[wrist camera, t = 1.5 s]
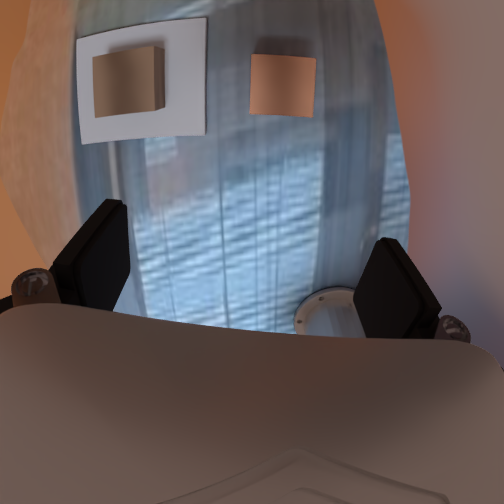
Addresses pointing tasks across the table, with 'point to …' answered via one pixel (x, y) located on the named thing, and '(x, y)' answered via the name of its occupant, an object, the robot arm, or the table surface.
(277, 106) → the terracotta cube
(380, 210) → the table surface
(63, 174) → the table surface
